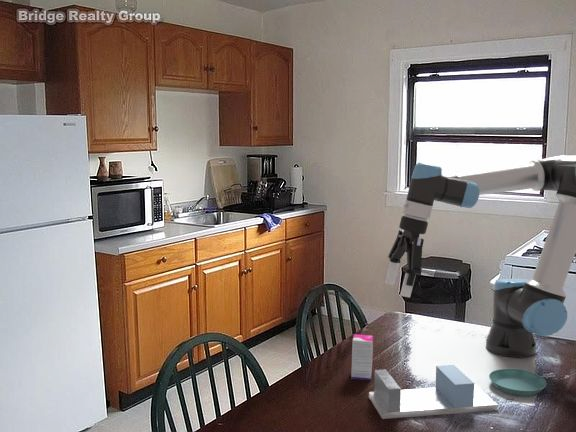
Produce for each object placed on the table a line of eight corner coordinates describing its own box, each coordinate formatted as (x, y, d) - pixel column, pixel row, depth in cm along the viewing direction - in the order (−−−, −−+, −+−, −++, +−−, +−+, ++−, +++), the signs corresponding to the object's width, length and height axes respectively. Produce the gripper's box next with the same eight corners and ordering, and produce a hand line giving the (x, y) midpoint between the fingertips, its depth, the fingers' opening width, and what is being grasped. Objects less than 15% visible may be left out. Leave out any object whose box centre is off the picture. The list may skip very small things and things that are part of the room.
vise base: (475, 389, 158) (476, 363, 157) (497, 410, 146) (498, 381, 145) (368, 397, 154) (369, 370, 153) (382, 418, 142) (382, 389, 141)
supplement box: (371, 380, 164) (372, 341, 163) (350, 379, 166) (351, 340, 164) (372, 372, 170) (373, 334, 169) (352, 371, 171) (353, 333, 170)
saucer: (503, 372, 170) (503, 364, 170) (555, 387, 160) (555, 378, 159) (478, 388, 160) (479, 378, 159) (532, 405, 149) (532, 395, 149)
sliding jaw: (453, 386, 157) (453, 364, 156) (473, 406, 145) (474, 383, 144) (435, 387, 156) (436, 365, 155) (454, 407, 144) (455, 384, 144)
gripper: (389, 209, 175) (372, 277, 177) (419, 221, 151) (399, 299, 153) (412, 214, 176) (395, 281, 179) (445, 227, 152) (425, 304, 154)
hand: (396, 290), depth 166 cm, fingers open, 13 cm apart
